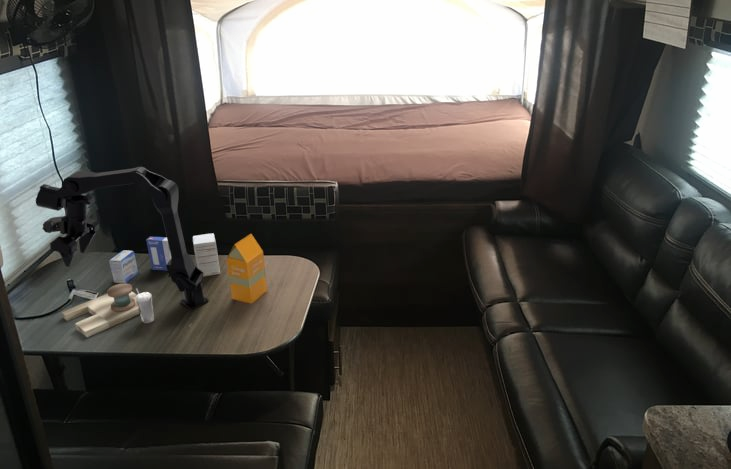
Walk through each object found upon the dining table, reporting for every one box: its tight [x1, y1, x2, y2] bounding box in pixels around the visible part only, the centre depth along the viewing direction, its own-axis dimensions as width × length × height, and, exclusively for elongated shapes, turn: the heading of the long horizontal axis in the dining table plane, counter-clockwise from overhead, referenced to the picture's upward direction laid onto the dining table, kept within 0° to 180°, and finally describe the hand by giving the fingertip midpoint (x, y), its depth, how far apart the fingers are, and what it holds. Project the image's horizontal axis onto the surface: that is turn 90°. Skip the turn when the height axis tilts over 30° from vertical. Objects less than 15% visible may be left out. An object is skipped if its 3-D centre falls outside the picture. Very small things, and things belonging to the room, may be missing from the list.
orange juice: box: [226, 233, 268, 304], centre depth 178 cm, size 8×9×20 cm
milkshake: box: [135, 287, 155, 324], centre depth 167 cm, size 4×5×10 cm
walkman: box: [145, 236, 171, 272], centre depth 197 cm, size 8×3×12 cm, turn 81°
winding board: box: [61, 291, 140, 338], centre depth 173 cm, size 16×20×2 cm
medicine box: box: [108, 249, 139, 284], centre depth 192 cm, size 8×4×9 cm, turn 168°
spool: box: [106, 283, 136, 312], centre depth 172 cm, size 7×7×6 cm
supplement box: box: [192, 232, 221, 277], centre depth 194 cm, size 7×7×13 cm
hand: (75, 259), depth 173 cm, fingers open, 9 cm apart
